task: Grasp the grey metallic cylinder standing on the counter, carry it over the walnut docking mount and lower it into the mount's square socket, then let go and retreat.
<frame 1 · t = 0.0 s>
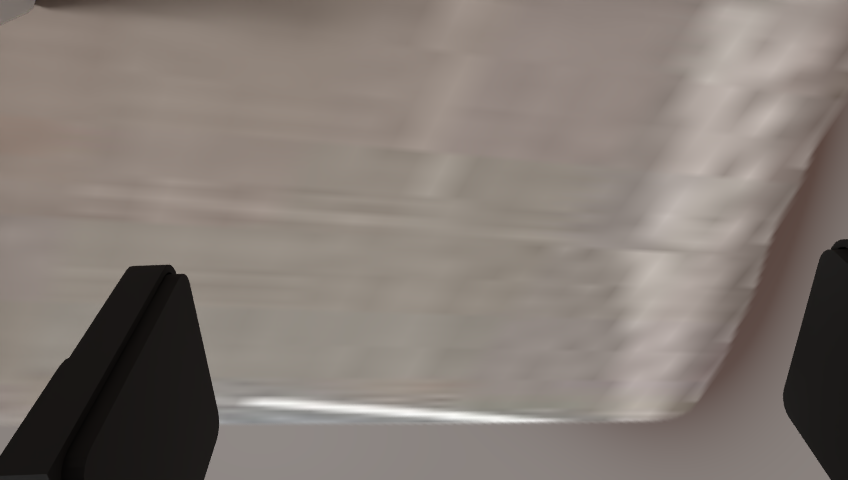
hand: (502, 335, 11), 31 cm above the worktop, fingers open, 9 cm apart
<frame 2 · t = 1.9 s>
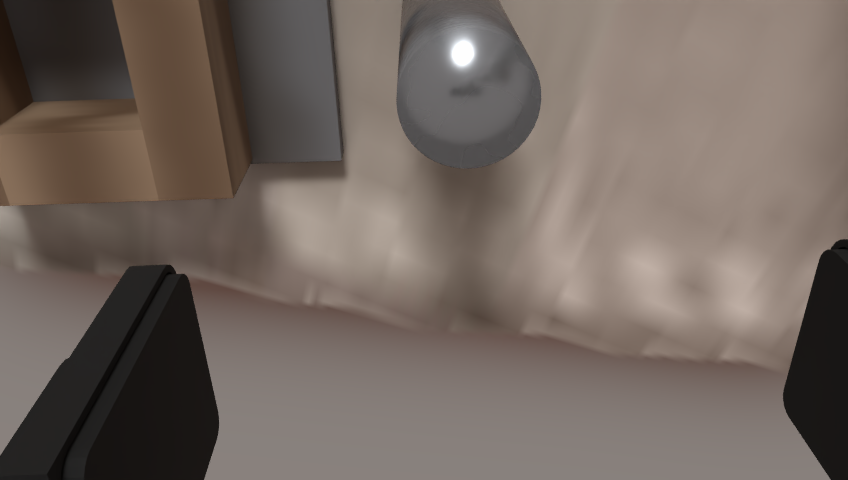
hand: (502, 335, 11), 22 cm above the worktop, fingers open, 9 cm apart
grey metallic cylinder: (449, 11, 30), on the worktop
docking mount: (94, 23, 30), on the worktop
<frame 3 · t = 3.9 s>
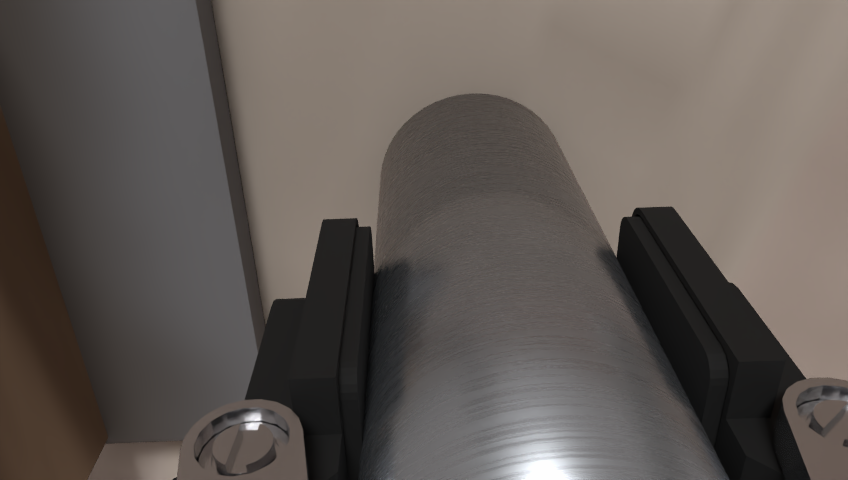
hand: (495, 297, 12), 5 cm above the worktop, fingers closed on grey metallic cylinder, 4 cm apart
grey metallic cylinder: (472, 183, 16), on the worktop, touching gripper
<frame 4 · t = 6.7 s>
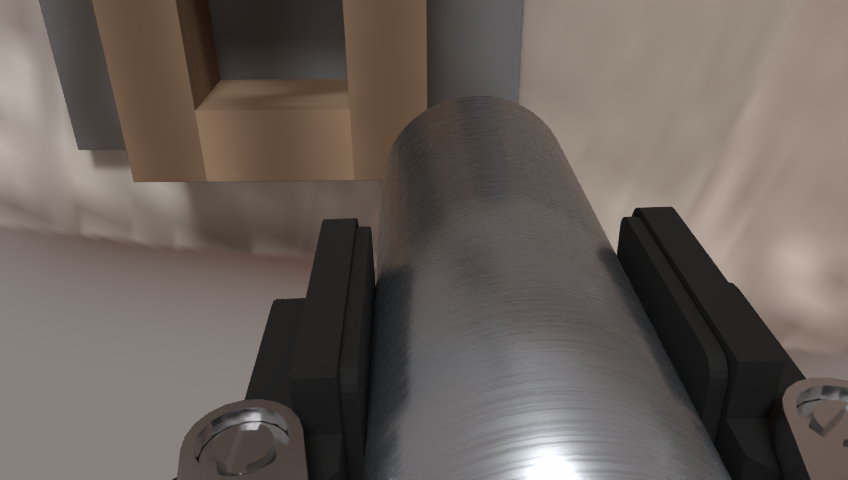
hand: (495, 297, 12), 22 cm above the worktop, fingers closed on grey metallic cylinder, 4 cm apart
grey metallic cylinder: (474, 184, 16), point 17 cm above the worktop, touching gripper
docking mount: (285, 3, 31), on the worktop
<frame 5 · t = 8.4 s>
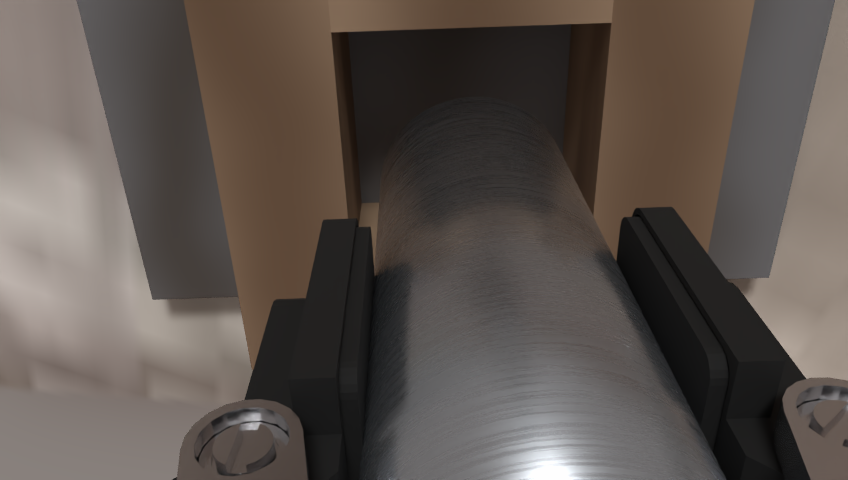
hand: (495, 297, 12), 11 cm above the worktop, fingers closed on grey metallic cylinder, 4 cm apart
grey metallic cylinder: (472, 186, 16), point 6 cm above the worktop, touching gripper
docking mount: (458, 93, 21), on the worktop
when the fingers open (7 cm above the worktop, at t = 9.5 s): grey metallic cylinder drops 1 cm, resting on docking mount.
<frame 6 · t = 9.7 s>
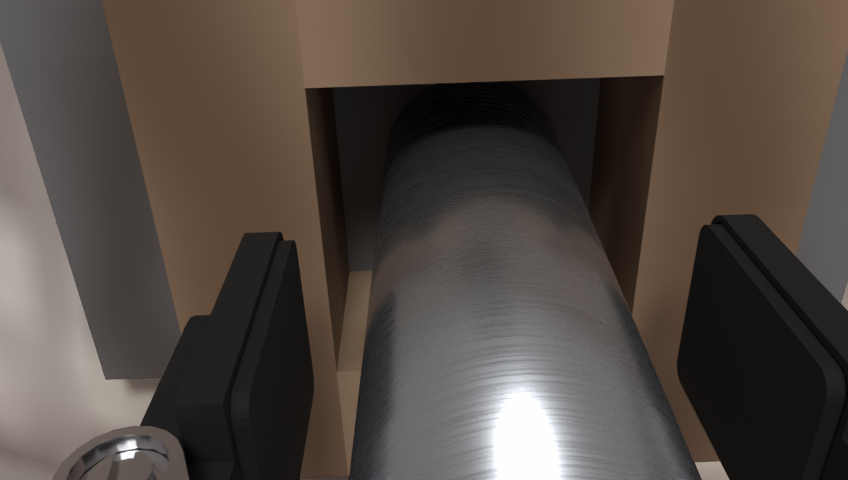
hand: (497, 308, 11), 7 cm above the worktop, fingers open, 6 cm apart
grey metallic cylinder: (470, 159, 17), point 1 cm above the worktop, touching docking mount
docking mount: (463, 142, 18), on the worktop
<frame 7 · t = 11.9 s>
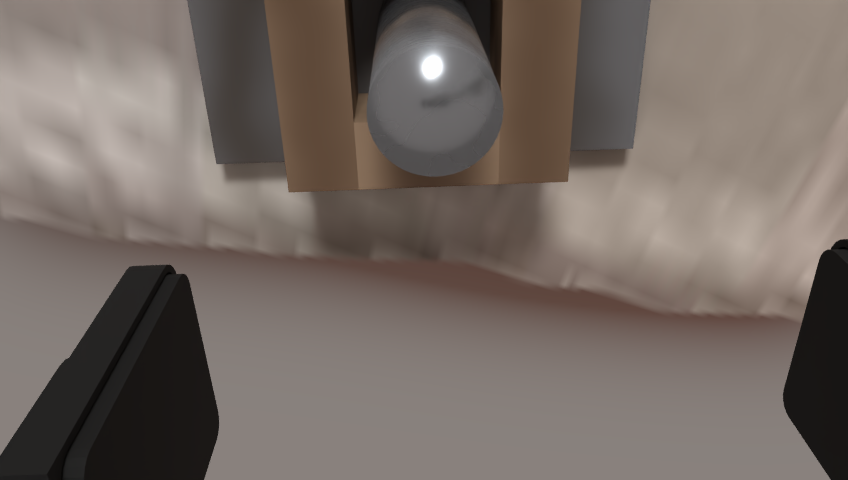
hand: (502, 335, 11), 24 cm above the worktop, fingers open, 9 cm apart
grey metallic cylinder: (424, 24, 32), point 1 cm above the worktop, touching docking mount
docking mount: (421, 19, 32), on the worktop
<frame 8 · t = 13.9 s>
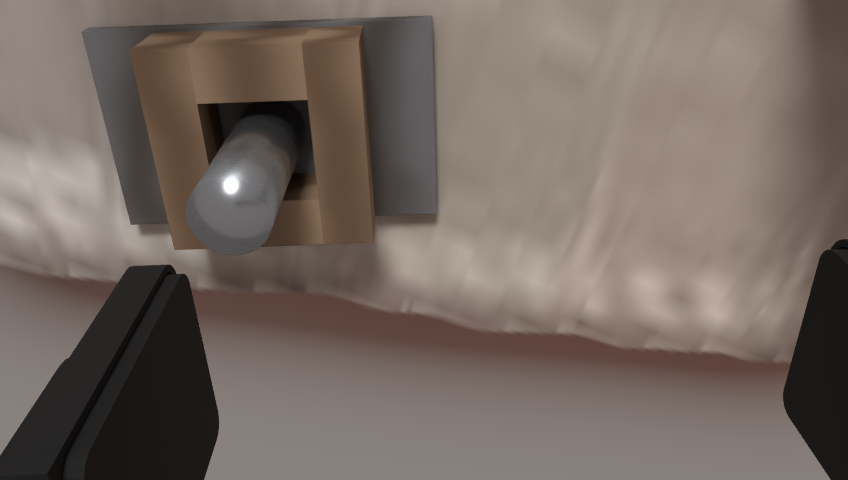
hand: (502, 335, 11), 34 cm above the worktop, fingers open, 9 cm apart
grey metallic cylinder: (273, 129, 44), point 1 cm above the worktop, touching docking mount
docking mount: (274, 123, 45), on the worktop
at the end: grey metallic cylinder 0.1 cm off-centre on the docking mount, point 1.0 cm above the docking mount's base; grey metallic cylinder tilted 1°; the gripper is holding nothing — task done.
